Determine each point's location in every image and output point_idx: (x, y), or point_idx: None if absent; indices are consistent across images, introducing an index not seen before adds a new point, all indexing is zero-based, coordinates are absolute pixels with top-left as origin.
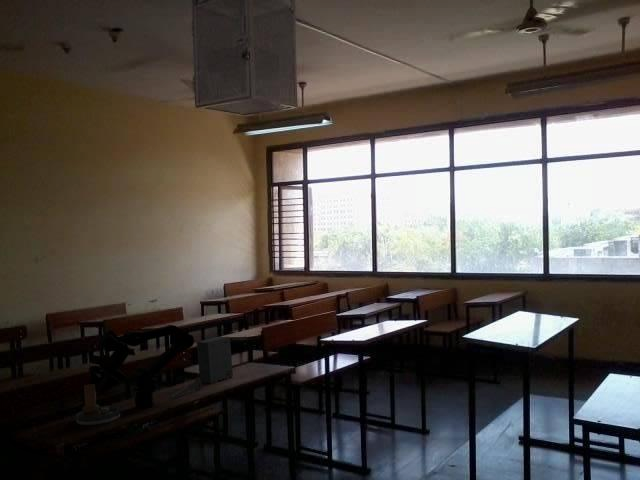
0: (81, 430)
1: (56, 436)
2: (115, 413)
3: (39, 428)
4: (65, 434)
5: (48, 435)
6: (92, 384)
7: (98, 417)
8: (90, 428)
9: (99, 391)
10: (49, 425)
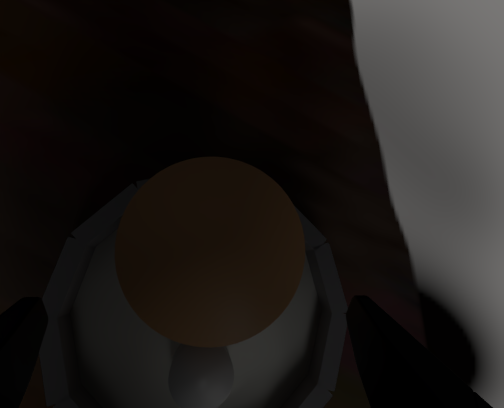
0: (72, 120)
1: (108, 7)
2: (48, 381)
3: (333, 54)
4: (93, 43)
5: (168, 4)
6: (230, 316)
7: (69, 238)
8: (53, 166)
9: (24, 307)
10: (341, 101)
